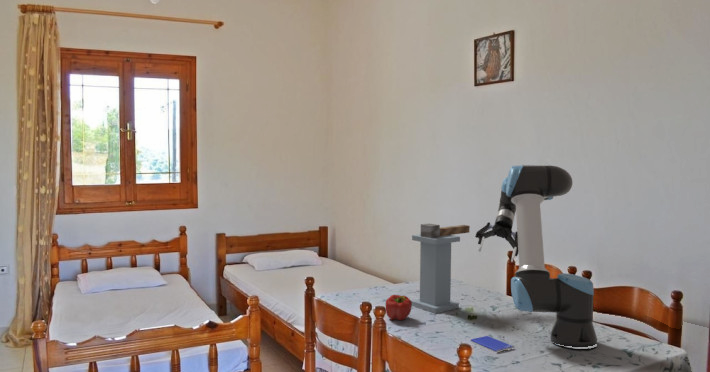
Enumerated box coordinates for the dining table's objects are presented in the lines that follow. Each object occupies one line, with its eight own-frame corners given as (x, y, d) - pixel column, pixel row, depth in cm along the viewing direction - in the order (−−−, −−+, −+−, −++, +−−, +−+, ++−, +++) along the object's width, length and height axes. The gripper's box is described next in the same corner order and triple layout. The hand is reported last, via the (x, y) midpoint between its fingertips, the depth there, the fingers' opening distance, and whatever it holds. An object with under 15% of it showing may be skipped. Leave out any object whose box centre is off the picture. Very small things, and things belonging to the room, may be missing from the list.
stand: (434, 313, 232) (436, 239, 230) (411, 305, 243) (412, 235, 241) (458, 307, 240) (460, 236, 238) (434, 300, 251) (435, 232, 249)
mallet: (430, 238, 233) (431, 226, 233) (420, 236, 238) (420, 224, 238) (472, 232, 248) (472, 221, 248) (461, 231, 253) (461, 220, 253)
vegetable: (417, 321, 220) (417, 296, 220) (392, 324, 217) (393, 298, 216) (404, 314, 231) (404, 289, 230) (380, 316, 227) (381, 291, 226)
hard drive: (514, 345, 191) (488, 335, 202) (496, 350, 187) (470, 339, 198) (514, 350, 191) (487, 339, 202) (496, 354, 187) (470, 343, 198)
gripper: (529, 236, 251) (523, 270, 236) (474, 219, 256) (464, 250, 241) (535, 224, 247) (529, 258, 231) (478, 206, 251) (468, 238, 236)
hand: (496, 254), depth 236 cm, fingers open, 13 cm apart
